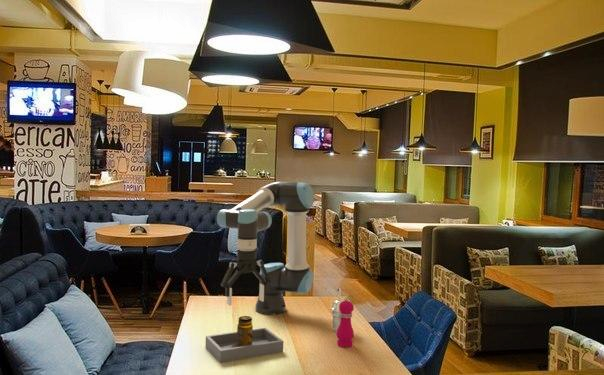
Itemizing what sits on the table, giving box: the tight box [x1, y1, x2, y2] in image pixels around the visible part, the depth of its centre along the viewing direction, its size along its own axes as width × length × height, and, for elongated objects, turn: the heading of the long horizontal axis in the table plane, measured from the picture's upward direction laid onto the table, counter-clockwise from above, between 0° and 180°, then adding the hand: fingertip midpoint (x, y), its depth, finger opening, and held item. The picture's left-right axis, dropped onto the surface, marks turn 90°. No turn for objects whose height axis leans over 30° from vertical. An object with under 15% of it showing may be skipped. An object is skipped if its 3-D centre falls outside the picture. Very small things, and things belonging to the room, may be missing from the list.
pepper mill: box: [336, 296, 355, 349], centre depth 215 cm, size 7×7×20 cm
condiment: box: [229, 315, 254, 348], centre depth 205 cm, size 7×8×12 cm
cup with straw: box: [329, 287, 344, 333], centre depth 232 cm, size 8×9×20 cm
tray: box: [205, 327, 284, 364], centre depth 206 cm, size 26×17×4 cm, turn 119°
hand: (245, 302), depth 205 cm, fingers open, 13 cm apart
